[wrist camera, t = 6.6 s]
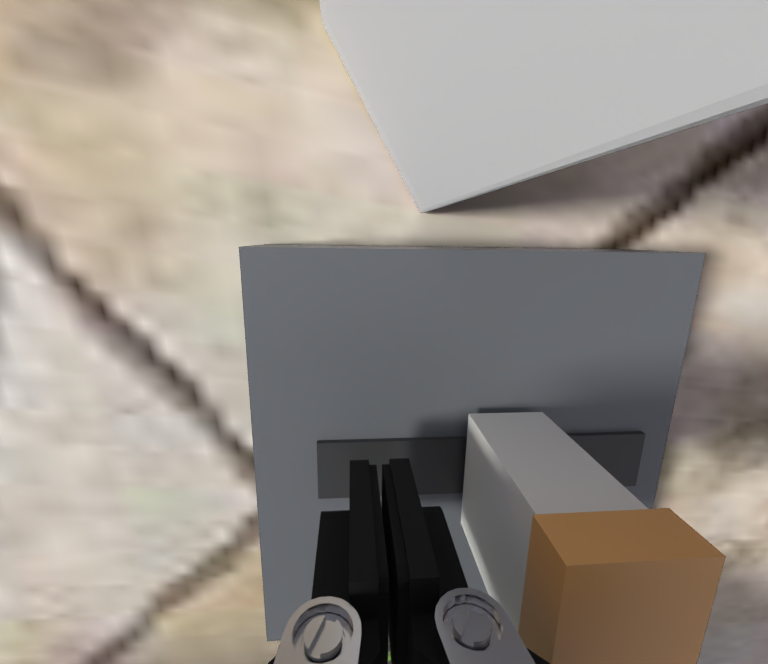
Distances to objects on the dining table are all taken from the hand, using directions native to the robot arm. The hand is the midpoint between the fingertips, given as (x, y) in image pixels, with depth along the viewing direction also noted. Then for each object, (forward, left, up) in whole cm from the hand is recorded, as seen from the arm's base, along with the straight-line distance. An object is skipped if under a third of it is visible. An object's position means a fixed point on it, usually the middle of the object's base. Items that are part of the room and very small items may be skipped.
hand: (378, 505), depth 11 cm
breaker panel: (0, -3, -6) cm, 7 cm away
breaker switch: (0, -4, -2) cm, 4 cm away
